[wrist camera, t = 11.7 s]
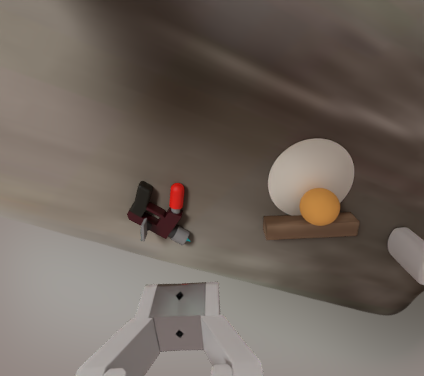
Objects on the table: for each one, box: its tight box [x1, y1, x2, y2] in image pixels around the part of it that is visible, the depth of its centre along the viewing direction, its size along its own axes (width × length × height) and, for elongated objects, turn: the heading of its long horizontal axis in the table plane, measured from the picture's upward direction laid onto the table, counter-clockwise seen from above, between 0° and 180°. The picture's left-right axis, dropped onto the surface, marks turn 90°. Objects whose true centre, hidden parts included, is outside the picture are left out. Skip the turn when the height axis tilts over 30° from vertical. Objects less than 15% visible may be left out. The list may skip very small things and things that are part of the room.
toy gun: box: [127, 181, 191, 245], centre depth 40 cm, size 10×12×5 cm
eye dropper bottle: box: [388, 227, 424, 285], centre depth 40 cm, size 4×6×12 cm
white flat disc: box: [268, 138, 354, 216], centre depth 40 cm, size 13×13×1 cm
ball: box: [299, 188, 340, 226], centre depth 39 cm, size 6×6×6 cm
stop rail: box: [263, 212, 360, 240], centre depth 42 cm, size 2×14×3 cm, turn 93°
